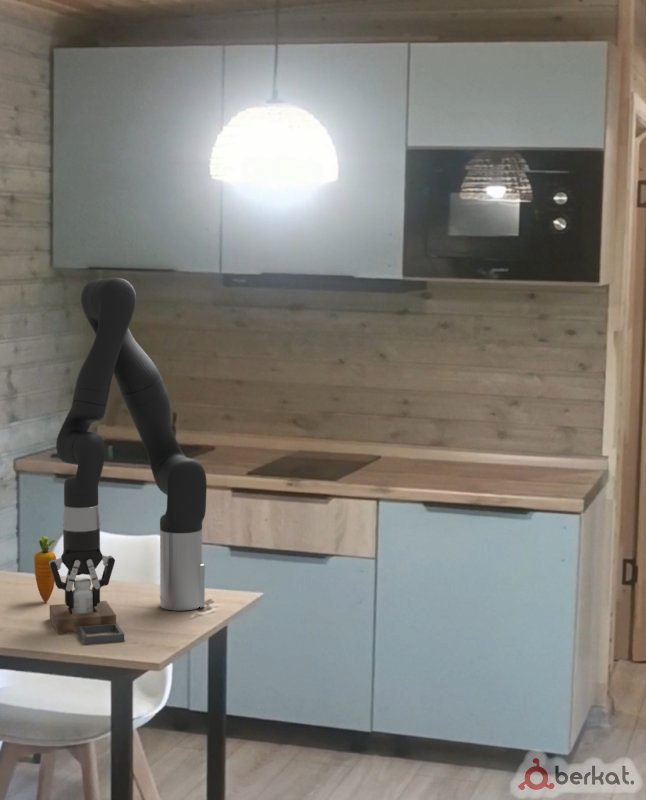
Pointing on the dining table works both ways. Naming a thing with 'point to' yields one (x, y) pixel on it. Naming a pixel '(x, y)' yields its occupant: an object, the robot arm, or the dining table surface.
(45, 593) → the carrot
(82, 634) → the tray
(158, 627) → the dining table surface
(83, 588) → the pill bottle
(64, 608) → the socket block
